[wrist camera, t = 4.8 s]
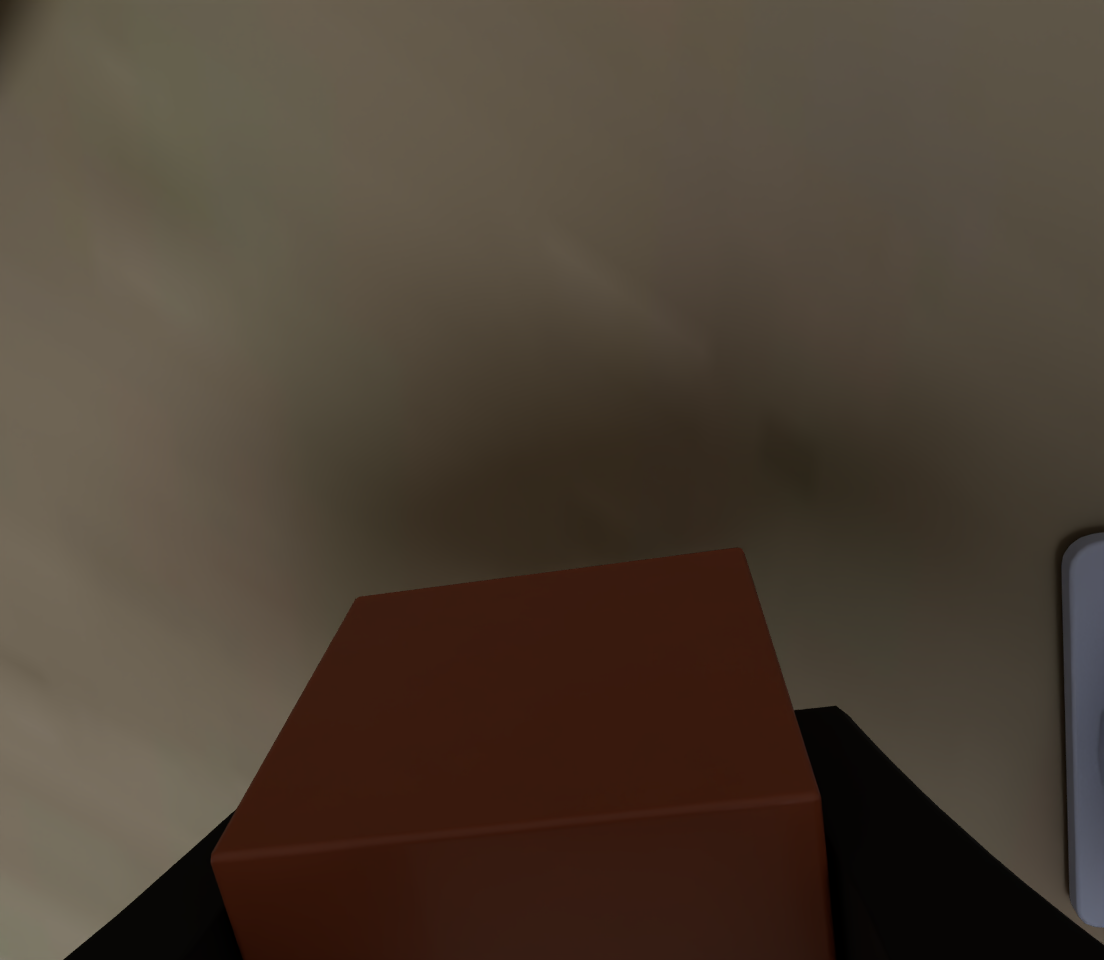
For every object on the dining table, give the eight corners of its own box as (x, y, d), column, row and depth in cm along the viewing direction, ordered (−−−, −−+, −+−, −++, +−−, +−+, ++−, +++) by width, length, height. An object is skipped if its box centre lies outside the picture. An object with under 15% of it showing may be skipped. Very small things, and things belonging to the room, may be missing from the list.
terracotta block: (742, 544, 10) (821, 793, 6) (781, 872, 11) (866, 1249, 7) (354, 594, 10) (204, 857, 7) (433, 905, 12) (345, 1275, 8)
